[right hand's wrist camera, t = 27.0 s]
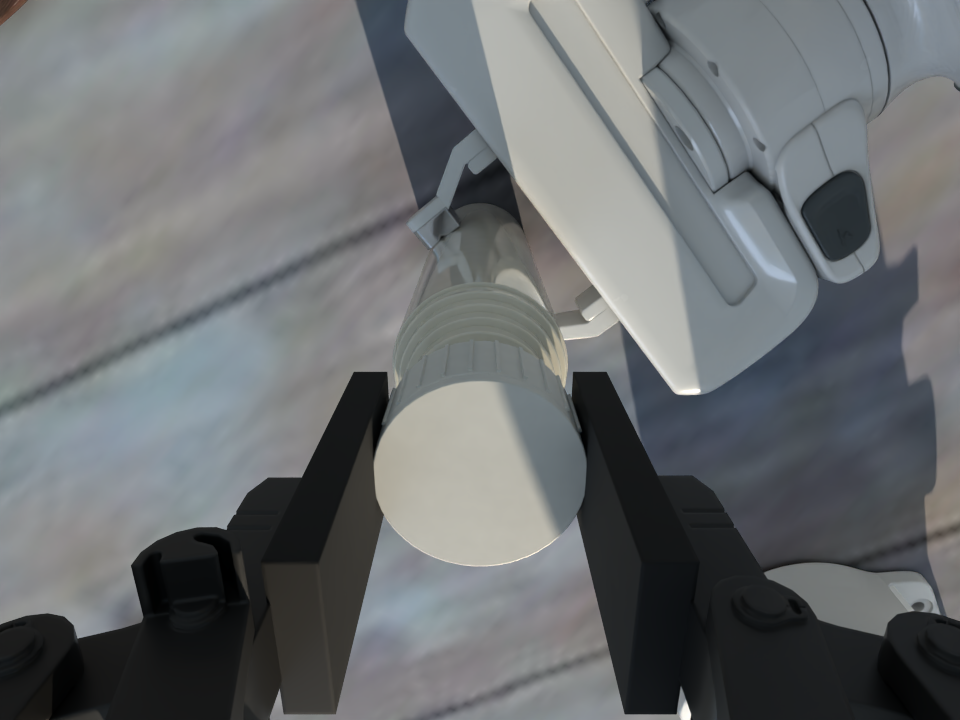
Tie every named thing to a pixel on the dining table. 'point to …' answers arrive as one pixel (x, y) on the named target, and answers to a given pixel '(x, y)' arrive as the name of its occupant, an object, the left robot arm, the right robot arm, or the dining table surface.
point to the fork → (9, 8)
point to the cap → (480, 455)
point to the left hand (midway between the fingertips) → (465, 292)
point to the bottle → (480, 294)
